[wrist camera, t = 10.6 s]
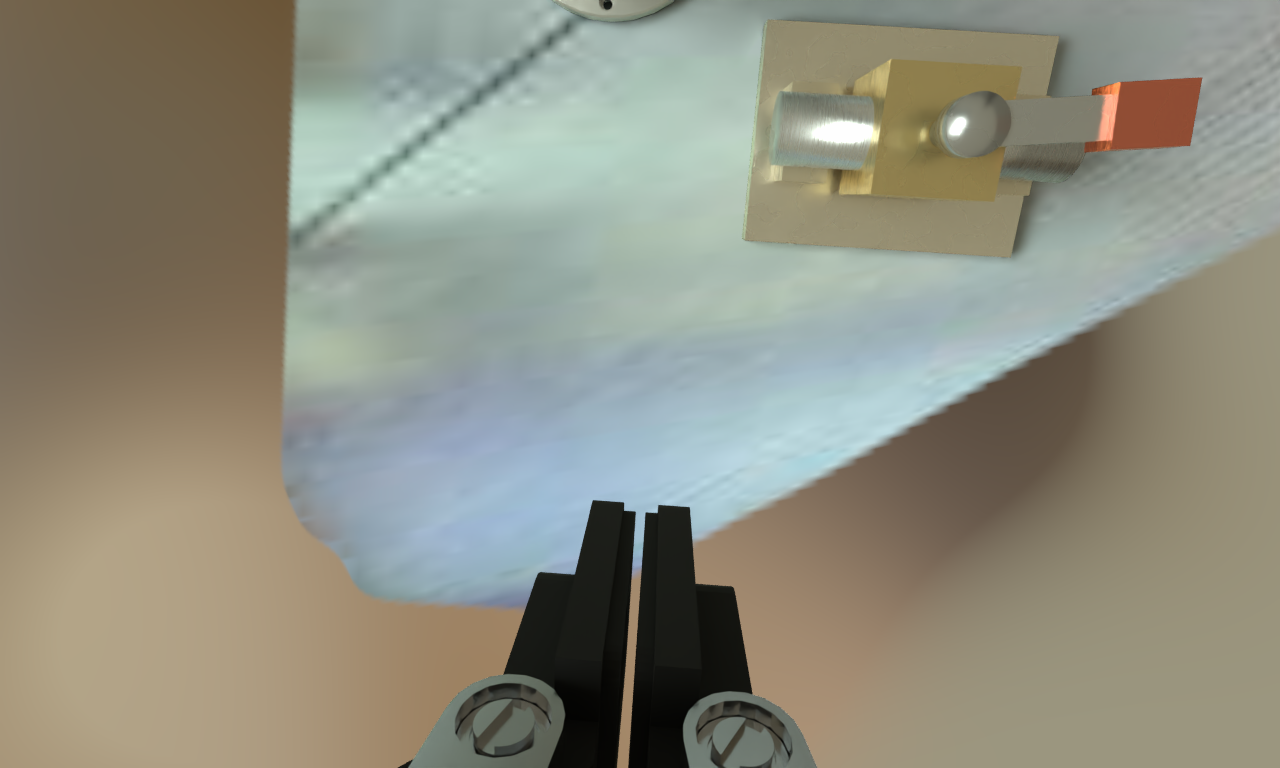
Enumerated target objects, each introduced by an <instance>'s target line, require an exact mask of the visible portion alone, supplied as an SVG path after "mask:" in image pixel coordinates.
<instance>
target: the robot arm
mask: <svg viewBox="0 0 1280 768" xmlns="http://www.w3.org/2000/svg"><path fill="white" fill-rule="evenodd" d="M552 1H553V2H554V3H556V4H557V5H559V6H561V7H563V8H564V9H566V10H568V11H570V12H571V13H574V14H577V15H580V16H583V17H586V18H589V19H592V20H600V21H609V22H617V21H627V20H635V19H638V18H641V17H644V16H647V15H650V14H653V13H655V12H657V11H659V10H660V9H662V8H664V7H666V6H667V5H669V4H671V3H673V2H674V1H675V0H552ZM608 1H609V2H611V3H612V8H611V9H609V10H606V9H605V8H604V4H605V3H606V2H608ZM635 515H636V512H633V511H624V502H610V501H596V500H593V502H592V506H591V510H590V514H589V518H588V522H587V527H586V531H585V535H584V539H583V543H582V547H581V552H580V556H579V560H578V564H577V568H576V572H575V575H571V574H558V573H545V572H540V573H538V575H537V577H536V580H535V583H534V586H533V589H532V592H531V595H530V597H529V600H528V603H527V606H526V609H525V612H524V615H523V618H522V621H521V624H520V627H519V630H518V633H517V636H516V639H515V642H514V645H513V648H512V651H511V653H510V657H509V659H508V662H507V665H506V668H505V672H504V674H503V675H498V676H492V677H488V678H486V679H483V680H481V681H478V682H475V683H473V684H471V685H470V686H468V687H467V688H465V689H464V690H463V691H461V692H460V693H458V695H457V696H456V697H455V698H454V699H453V700H452V701H451V702H450V704H449V705H448V706H447V707H446V709H445V710H444V712H443V714H442V715H441V717H440V718H439V720H438V722H437V723H436V725H435V727H434V728H433V729H432V731H431V733H430V734H429V736H428V737H427V739H426V740H425V742H424V744H423V745H422V747H421V748H420V750H419V752H418V753H417V755H416V756H415V758H414V759H413V760H411V761H409V762H407V763H406V764H404V765H402V766H400V767H398V768H617V759H618V747H619V735H620V723H621V712H622V701H623V689H624V678H625V667H626V654H627V638H628V624H629V609H630V592H631V578H632V562H633V547H634V531H635ZM694 571H695V570H694V559H693V544H692V530H691V517H690V507H679V506H665V505H658V513H647V512H646V515H645V530H644V544H643V558H642V573H641V587H640V601H639V616H638V630H637V645H636V659H635V675H634V690H633V704H632V720H631V735H630V750H629V765H628V768H817V766H816V764H815V762H814V759H813V757H812V755H811V753H810V750H809V748H808V746H807V743H806V741H805V739H804V736H803V734H802V733H801V731H800V729H799V728H798V726H797V724H796V723H795V721H794V720H793V719H792V718H791V717H790V716H789V715H788V714H787V713H786V712H785V711H784V710H782V709H781V708H780V707H779V706H777V705H775V704H773V703H771V702H770V701H768V700H766V699H765V698H762V697H758V696H755V695H753V694H752V688H751V683H750V677H749V671H748V666H747V659H746V654H745V648H744V643H743V637H742V630H741V625H740V619H739V613H738V607H737V601H736V596H735V591H734V588H733V587H731V586H718V585H703V584H695V572H694Z"/></svg>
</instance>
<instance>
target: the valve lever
mask: <svg viewBox="0 0 1280 768" xmlns="http://www.w3.org/2000/svg"><path fill="white" fill-rule="evenodd" d="M1201 82H1202V78H1184V79H1167V80H1150V81H1133V82H1119V83H1115V84H1111V85H1107V86H1103V87H1099V88H1095V89H1092V95H1091V96H1074V97H1056V98H1039V99H1021V100H1004V99H1003V98H1002V97H1001V96H1000V95H998V94H996V93H994V92H991V91H978V92H974V93H971V94H968V95H965V96H962V97H959V98H956V99H954V100H953V101H951V102H950V103H948V104H947V105H946V106H945V107H944V108H943V109H942V111H941V112H940V114H939V116H938V118H937V120H936V124H935V139H936V142H937V145H938V147H939V148H940V149H941V151H942V152H943V153H945V154H946V155H948V156H950V157H952V158H957V159H964V158H972V157H981V156H985V155H987V154H989V153H991V152H993V151H994V150H996V149H997V148H998V147H1011V146H1030V145H1048V144H1067V143H1085V148H1084V152H1102V151H1121V150H1140V149H1159V148H1170V147H1180V146H1190V143H1191V138H1192V132H1193V127H1194V121H1195V115H1196V110H1197V104H1198V99H1199V93H1200V87H1201Z"/></svg>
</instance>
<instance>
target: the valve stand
mask: <svg viewBox="0 0 1280 768" xmlns="http://www.w3.org/2000/svg"><path fill="white" fill-rule="evenodd" d="M1058 40H1059V36H1046V35H1029V34H1011V33H994V32H976V31H959V30H941V29H924V28H907V27H889V26H872V25H854V24H837V23H819V22H802V21H784V20H767V22H766V23H765V25H764V29H763V39H762V48H761V58H760V68H759V78H758V87H757V97H756V107H755V116H754V126H753V136H752V146H751V155H750V165H749V175H748V184H747V194H746V204H745V214H744V223H743V233H742V239H743V240H747V241H763V242H778V243H794V244H809V245H825V246H840V247H856V248H872V249H887V250H903V251H918V252H934V253H949V254H965V255H980V256H996V257H1011V253H1012V249H1013V244H1014V240H1015V235H1016V231H1017V226H1018V222H1019V217H1020V213H1021V208H1022V203H1023V199H1024V196H1029V194H1030V189H1031V185H1032V181H1036V182H1052V183H1061V182H1063V181H1065V180H1067V179H1068V178H1069V177H1070V176H1072V175H1073V173H1074V172H1075V171H1076V170H1077V168H1078V167H1079V165H1080V163H1081V161H1082V160H1083V157H1084V155H1085V153H1086V152H1084V148H1085V143H1067V144H1048V145H1030V146H1011V147H998V148H997V149H996V150H994V151H993V152H991V153H989V154H987V155H985V156H981V157H972V158H964V159H957V158H952V157H950V156H948V155H946V154H945V153H943V152H942V151H941V149H940V148H939V147H938V145H937V142H936V139H935V124H936V120H937V118H938V116H939V114H940V112H941V111H942V109H943V108H944V107H945V106H946V105H947V104H948V103H950V102H951V101H953V100H954V99H956V98H959V97H962V96H965V95H968V94H971V93H974V92H978V91H991V92H994V93H996V94H998V95H1000V96H1001V97H1002V98H1003V99H1004V100H1021V99H1039V98H1051V96H1046V95H1047V90H1048V85H1049V81H1050V76H1051V72H1052V67H1053V63H1054V58H1055V54H1056V49H1057V45H1058Z"/></svg>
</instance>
